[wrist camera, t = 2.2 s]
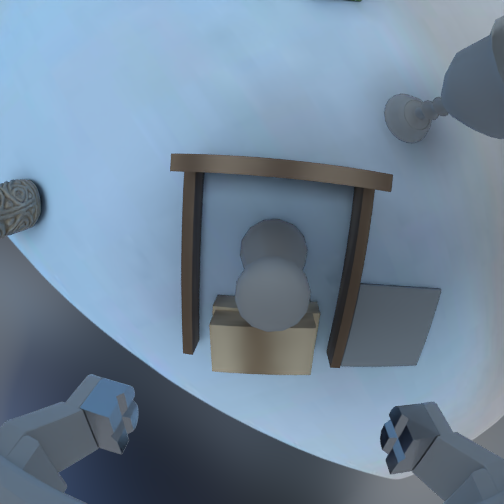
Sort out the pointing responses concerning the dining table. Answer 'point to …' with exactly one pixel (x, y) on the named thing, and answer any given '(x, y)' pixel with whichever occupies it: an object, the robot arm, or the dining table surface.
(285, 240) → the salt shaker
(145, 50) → the dining table surface
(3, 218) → the carving
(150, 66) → the dining table surface
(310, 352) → the offcut upper
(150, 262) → the dining table surface
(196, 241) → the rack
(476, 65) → the chalice
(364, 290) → the slate mat
